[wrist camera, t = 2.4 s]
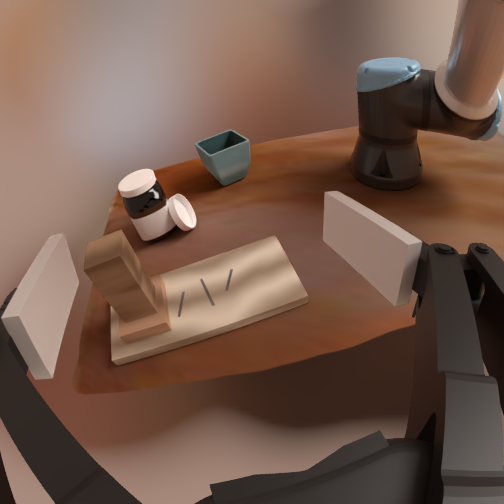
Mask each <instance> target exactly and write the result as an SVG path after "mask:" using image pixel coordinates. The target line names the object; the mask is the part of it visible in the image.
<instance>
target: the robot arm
mask: <svg viewBox="0 0 504 504" xmlns="http://www.w3.org/2000/svg"><path fill="white" fill-rule="evenodd" d="M503 77H504V0H459V3H458V9H457V15H456V21H455V27H454V32H453V38H452V42H451V47H450V53H449V57H448V60H446V61H444V62H443V63H442V64H440V66H439V67H438V68H437V70H436V71H432V70H423V69H420V65H419V63H418V62H417V61H415V60H413V59H405V58H380V59H374V60H370V61H367V62H364V63H363V64H361V65H360V66H359V68H358V69H357V86H356V90H357V94H358V113H359V136H358V139H357V142H356V145H355V148H354V152H353V154H352V156H351V171H352V173H353V175H354V176H355V177H356V178H357V179H358V180H359V181H361V182H363V183H364V184H366V185H369V186H371V187H375V188H378V189H384V190H402V189H407V188H410V187H412V186H414V185H416V184H417V183H418V182H419V181H420V179H421V176H422V161H421V157H420V152H419V148H418V144H417V130H424V131H431V132H437V133H443V134H449V135H454V136H460V137H465V138H468V139H470V140H482V141H486V140H489V139H491V138H492V137H493V136H494V135H495V134H496V132H497V130H498V128H499V122H500V121H501V117H502V99H501V95H500V92H499V90H498V86H499V84H500V82H501V81H502V79H503ZM323 241H324V242H325V243H326V244H328V245H329V246H330V247H331V248H332V249H333V250H334V251H335V252H336V253H338V254H339V255H340V256H341V257H342V258H343V259H344V260H345V261H346V262H348V263H349V264H350V265H351V266H352V267H353V268H354V269H355V270H356V271H357V272H359V273H360V274H361V275H362V276H363V277H364V278H365V279H366V280H367V281H368V282H369V283H370V284H371V285H373V286H374V287H375V288H376V289H377V290H378V291H379V292H380V293H381V294H382V295H383V296H384V297H385V298H386V299H387V300H388V301H390V302H391V303H392V304H393V305H394V306H395V307H397V306H400V305H403V304H406V303H409V301H410V297H411V293H412V289H413V290H414V291H415V292H416V293H417V294H418V296H417V300H416V304H415V308H414V311H413V315H412V317H415V315H416V331H415V353H414V368H413V381H412V391H411V401H410V409H409V417H408V424H407V430H406V434H405V438H393V439H385V438H384V436H383V435H382V433H381V432H380V431H377V432H375V433H373V434H370V435H368V436H366V437H364V438H361V439H359V440H357V441H354V442H352V443H350V444H347V445H344V446H343V447H341V448H340V449H338V450H337V451H335V452H334V453H332V454H331V455H329V456H328V457H327V458H325V459H323V460H322V461H320V462H319V463H317V464H316V465H314V466H313V467H311V468H309V469H308V470H305V471H301V472H290V473H277V474H259V475H251V476H248V477H243V478H239V479H235V480H230V481H225V482H221V483H216V484H210V488H211V492H212V495H211V496H208V497H206V498H204V499H202V500H200V501H199V502H197V503H195V504H504V459H503V457H504V456H503V431H502V418H501V408H502V411H503V414H504V262H503V260H502V259H501V258H500V257H499V256H498V255H497V254H496V252H495V251H494V250H493V249H491V248H490V247H488V246H487V245H486V244H483V243H472V244H470V245H469V248H468V252H467V254H458V252H457V251H456V250H455V249H454V248H453V247H451V246H448V245H446V244H439V243H435V244H431V245H428V244H427V243H425V242H424V241H422V240H420V239H419V238H417V237H416V236H413V234H411V233H409V232H407V231H406V230H405V229H403V228H401V227H400V226H397V225H395V224H394V223H392V222H390V221H389V220H387V219H385V218H384V217H382V216H380V215H379V214H377V213H375V212H374V211H372V210H370V209H369V208H367V207H365V206H363V205H362V204H360V203H358V202H356V201H355V200H353V199H351V198H349V197H348V196H346V195H344V194H342V193H340V192H339V191H330V192H325V195H324V223H323ZM78 285H79V280H78V277H77V274H76V271H75V268H74V264H73V261H72V258H71V255H70V251H69V248H68V244H67V241H66V237H65V234H64V233H60V234H55V235H51V236H50V237H49V239H48V240H47V242H46V243H45V245H44V246H43V248H42V249H41V251H40V252H39V254H38V255H37V257H36V258H35V260H34V262H33V263H32V265H31V266H30V268H29V270H28V271H27V273H26V275H25V276H24V278H23V280H22V281H21V283H20V285H19V286H18V288H15V289H14V290H13V291H12V292H11V293H10V294H9V295H8V296H7V298H6V300H5V301H4V304H3V305H2V306H1V308H0V417H1V419H2V421H3V423H4V425H5V427H6V429H7V431H8V432H9V434H10V436H11V438H12V440H13V441H14V443H15V445H16V446H17V448H18V450H19V451H20V453H21V455H22V456H23V458H24V459H25V461H26V463H27V464H28V465H29V467H30V469H31V470H32V472H33V473H34V475H35V476H36V478H37V479H38V480H39V482H40V483H41V484H42V486H43V487H44V489H45V490H46V492H47V493H48V494H49V495H50V497H51V498H52V500H53V501H54V502H55V504H142V503H141V502H140V501H138V500H137V499H136V498H135V497H134V496H133V495H131V494H130V493H129V492H128V491H127V490H126V489H125V488H123V486H121V485H120V484H119V483H118V482H117V481H116V480H115V479H114V478H113V477H112V476H111V475H110V474H109V473H108V472H107V471H106V470H105V469H103V468H102V467H101V466H100V465H99V464H98V463H97V462H96V461H95V460H94V459H93V458H92V457H91V456H90V455H89V454H88V453H87V451H86V450H85V449H84V448H83V447H82V446H81V445H80V444H79V443H78V442H77V441H76V439H75V438H74V437H73V436H72V435H71V433H70V432H69V431H68V430H67V429H66V428H65V426H64V425H63V424H62V423H61V421H59V419H58V418H57V416H56V415H55V414H54V413H53V412H52V410H51V409H50V408H49V406H48V405H47V404H46V402H45V401H44V400H43V398H42V397H41V395H40V394H39V393H38V391H37V390H36V388H35V387H34V386H33V384H32V383H31V381H30V380H29V378H28V377H27V375H26V374H27V371H28V368H29V370H30V372H31V373H32V375H33V376H34V378H35V379H36V380H38V379H50V378H53V375H54V370H55V366H56V361H57V357H58V353H59V349H60V346H61V342H62V338H63V334H64V331H65V327H66V323H67V320H68V316H69V313H70V310H71V306H72V303H73V300H74V297H75V294H76V291H77V288H78ZM483 293H484V295H483ZM482 359H483V360H482ZM483 362H484V364H485V366H486V369H487V371H488V373H489V376H485V374H484V367H483ZM500 406H501V408H500ZM0 504H16V503H15V500H14V497H13V494H12V491H11V488H10V485H9V482H8V478H7V476H6V472H5V468H4V465H3V461H2V457H1V453H0Z"/></svg>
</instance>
